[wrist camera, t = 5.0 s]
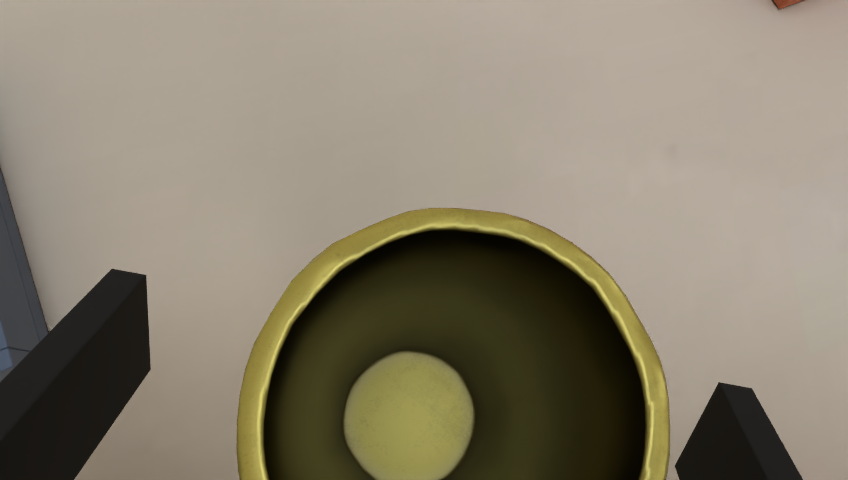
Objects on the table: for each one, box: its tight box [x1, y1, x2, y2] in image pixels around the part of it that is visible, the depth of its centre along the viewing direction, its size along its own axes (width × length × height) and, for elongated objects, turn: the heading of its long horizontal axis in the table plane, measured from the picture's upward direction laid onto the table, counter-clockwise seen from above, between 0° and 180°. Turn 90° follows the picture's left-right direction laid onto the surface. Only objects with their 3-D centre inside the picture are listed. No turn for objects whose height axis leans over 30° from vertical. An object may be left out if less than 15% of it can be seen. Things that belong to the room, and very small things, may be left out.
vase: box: [237, 208, 670, 480], centre depth 14 cm, size 6×6×14 cm
